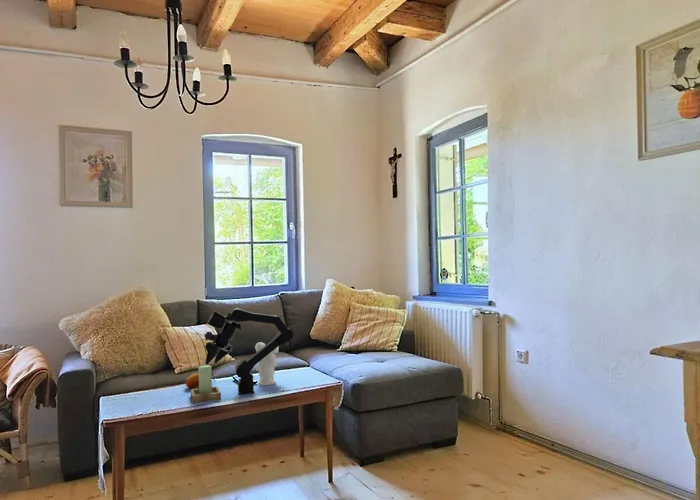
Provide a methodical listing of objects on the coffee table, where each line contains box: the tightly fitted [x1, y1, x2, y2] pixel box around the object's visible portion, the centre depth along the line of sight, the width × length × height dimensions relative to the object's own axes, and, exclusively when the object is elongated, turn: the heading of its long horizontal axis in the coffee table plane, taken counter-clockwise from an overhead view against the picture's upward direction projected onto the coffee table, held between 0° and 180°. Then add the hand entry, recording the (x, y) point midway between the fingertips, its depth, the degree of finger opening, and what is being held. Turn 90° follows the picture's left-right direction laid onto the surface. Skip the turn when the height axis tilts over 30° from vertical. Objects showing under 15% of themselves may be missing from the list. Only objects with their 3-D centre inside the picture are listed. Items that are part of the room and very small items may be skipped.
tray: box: [190, 386, 222, 404], centre depth 233 cm, size 12×12×3 cm
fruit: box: [185, 372, 199, 390], centre depth 251 cm, size 8×8×8 cm
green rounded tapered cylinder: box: [197, 364, 213, 395], centre depth 233 cm, size 6×6×13 cm
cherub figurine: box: [254, 341, 280, 386], centre depth 257 cm, size 12×12×22 cm
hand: (210, 363), depth 237 cm, fingers open, 9 cm apart
